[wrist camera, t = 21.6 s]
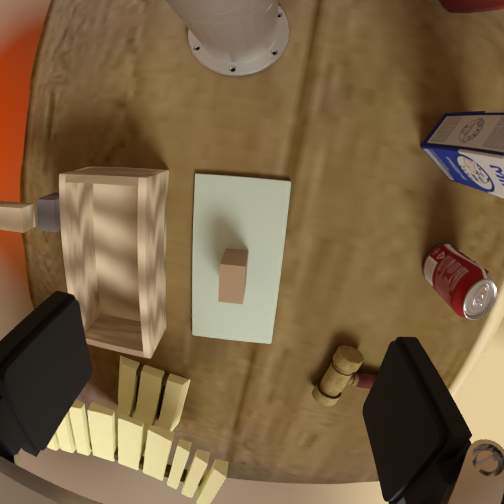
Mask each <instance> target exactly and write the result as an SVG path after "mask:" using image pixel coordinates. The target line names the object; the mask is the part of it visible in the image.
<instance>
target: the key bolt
mask: <svg viewBox="0 0 504 504" xmlns="http://www.w3.org/2000/svg"><path fill="white" fill-rule="evenodd" d="M34 227H35V216H34V204H33V203H18V202H4V201H0V229H1V230H8V231H15V232H22V233H24V232H26V231H28V230H30V229H32V228H34Z"/></svg>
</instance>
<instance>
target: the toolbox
mask: <svg viewBox="0 0 504 504" xmlns="http://www.w3.org/2000/svg"><path fill="white" fill-rule="evenodd" d="M168 181H169V170H161V169H145V168H125V167H98V166H90V167H86V168H82V169H77V170H73V171H69V172H65V173H61V174H59V193H53V194H50V195H47V196H44V197H41V198H39V199H37V215H38V228H39V230H41V231H49V232H57V231H59V230H61V236H62V248H63V258H64V267H65V275H66V282H67V289H68V293H69V294H73V295H74V296H75V298H76V300H78V301H79V304H80V309H81V315H82V321H83V327H84V332H85V337H86V342H87V344H90V345H93V346H97V347H101V348H105V349H109V350H113V351H118V352H122V353H126V354H131V355H135V356H140V357H144V358H149V359H151V357H152V355H153V353H154V351H155V349H156V347H157V345H158V343H159V341H160V339H161V337H162V335H163V333H164V331H165V329H166V224H167V199H168Z"/></svg>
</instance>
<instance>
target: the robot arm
mask: <svg viewBox="0 0 504 504" xmlns="http://www.w3.org/2000/svg"><path fill="white" fill-rule="evenodd" d="M166 1H167V2H168V4H169V5H170V6H171V7H172V9H173V10H174V11H175V12H176V13H177V15H178V16H179V17H180V18H181V20H182V21H183V22H184V23H185V25H186V26H187V27H188V42H189V46H190V49H191V51H192V53H193V54H194V56H195V57H196V59H197V60H198V61H199V62H200V63H201V64H202V65H204V66H205V67H206V68H208V69H210V70H212V71H214V72H216V73H219V74H222V75H226V76H247V75H251V74H255V73H258V72H260V71H263V70H265V69H266V68H268V67H269V66H271V65H272V64H273V63H275V62H276V61H277V60H278V59H279V58H280V56H281V55H282V54H283V52H284V50H285V48H286V46H287V43H288V39H289V31H290V30H289V22H288V19H287V17H286V14H285V13H284V11H283V10H282V8H281V7H280V6H279V5H278V1H279V0H166ZM278 16H281V17H278ZM197 48H200V49H199V50H196V49H197ZM273 52H275V53H276V55H273V54H272V53H273ZM232 69H235V71H234V72H232V71H231V70H232ZM91 373H92V365H91V361H90V357H89V352H88V347H87V342H86V337H85V332H84V327H83V321H82V315H81V309H80V304H79V301H78V300H76V298H75V296H74V295H73V294H69V293H65V292H61V291H56V292H54V293H53V294H52V295H51V296H50V297H49V298H47V299H46V300H45V301H44V302H43V303H42V304H40V305H39V306H38V307H37V308H36V309H35V310H34V311H32V312H31V313H30V314H29V315H28V316H27V317H26V318H25V319H23V320H22V321H21V322H20V323H19V324H18V325H17V326H16V327H15V328H14V329H13V330H11V331H10V332H9V333H8V334H7V335H6V336H5V337H4V338H3V339H2V340H1V341H0V504H102V503H99V502H96V501H93V500H91V499H88V498H85V497H83V496H80V495H78V494H76V493H73V492H71V491H68V490H66V489H64V488H61V487H59V486H57V485H55V484H53V483H51V482H48V481H46V480H44V479H42V478H40V477H38V476H36V475H34V474H32V473H30V472H28V471H27V470H25V469H23V468H22V467H21V463H20V458H19V453H18V452H19V450H20V449H21V447H22V449H23V450H24V451H26V452H28V453H30V454H32V455H34V456H36V457H37V455H38V454H39V452H40V450H44V449H45V448H46V447H47V446H48V444H49V442H50V441H51V439H52V437H53V436H54V434H55V432H56V431H57V429H58V427H59V426H60V424H61V422H62V421H63V419H64V417H65V416H66V414H67V413H68V411H69V409H70V408H71V406H72V405H73V403H74V402H75V400H76V398H77V397H78V395H79V394H80V392H81V391H82V389H83V388H84V386H85V384H86V383H87V381H88V380H89V378H90V376H91ZM363 417H364V421H365V425H366V428H367V432H368V436H369V440H370V444H371V448H372V452H373V456H374V460H375V464H376V468H377V473H378V477H379V481H380V486H381V490H382V495H383V498H384V500H385V501H389V504H504V449H503V448H502V447H501V446H500V445H499V444H497V443H495V442H494V441H491V440H478V441H475V442H474V443H473V444H471V442H470V440H469V439H470V438H471V436H472V434H471V432H470V430H469V428H468V426H467V424H466V422H465V420H464V418H463V417H462V415H461V413H460V411H459V409H458V407H457V405H456V403H455V402H454V400H453V398H452V396H451V394H450V393H449V391H448V389H447V387H446V386H445V384H444V382H443V380H442V379H441V377H440V375H439V373H438V372H437V370H436V368H435V367H434V365H433V363H432V362H431V360H430V358H429V357H428V355H427V353H426V352H425V350H424V348H423V347H422V345H421V344H420V342H419V340H418V339H417V338H415V337H397V339H396V340H395V341H392V342H391V343H390V345H389V347H388V349H387V352H386V354H385V357H384V359H383V362H382V364H381V367H380V369H379V371H378V374H377V376H376V378H375V381H374V383H373V385H372V388H371V390H370V392H369V394H368V396H367V398H366V401H365V403H364V405H363Z"/></svg>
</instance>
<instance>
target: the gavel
mask: <svg viewBox="0 0 504 504" xmlns="http://www.w3.org/2000/svg"><path fill="white" fill-rule="evenodd" d="M363 360H364V358H363V355H362V354H361V353H360V352H359V351H358V350H357V349H356V348H354V347H351V346H347V345H341V346H339V347H338V349H337V350H336V352H335V354H334V356H333V361H332V363H331V365H330V366H329V368H328V370H327V371H326V373H325V375H324V376H323V378H322V380H321V381H319V382H318V383H317V384H316V386H315V388H314V389H313V391H312V395H313V397H314V399H315V400H316V401H317V402H318V403H320V404H322V405H325V406H332V405H334V404H335V403H336V402H337V400H338V399H339V398H340V396H341V391H342V390H343V388H344V387H345V385H354V386H357V387H360V388H368V389H371V388H372V385H373V383H374V381H375V378H376V376H377V375H373V374H367V373H354V372H356V371H357V370H358V369H359V367H360V366H361V364H362V362H363Z"/></svg>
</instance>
